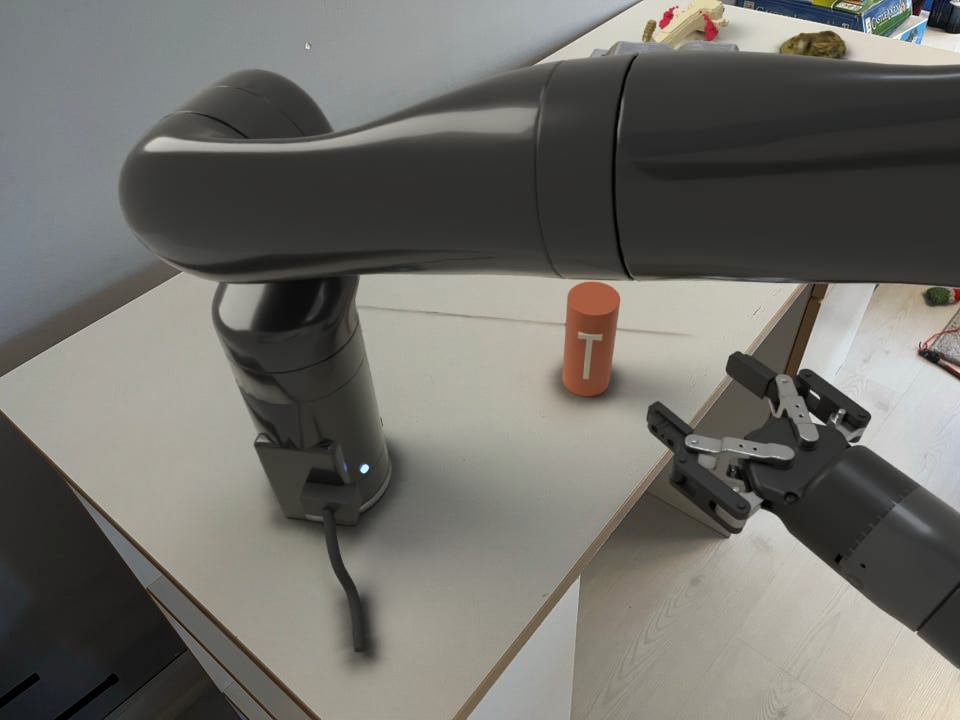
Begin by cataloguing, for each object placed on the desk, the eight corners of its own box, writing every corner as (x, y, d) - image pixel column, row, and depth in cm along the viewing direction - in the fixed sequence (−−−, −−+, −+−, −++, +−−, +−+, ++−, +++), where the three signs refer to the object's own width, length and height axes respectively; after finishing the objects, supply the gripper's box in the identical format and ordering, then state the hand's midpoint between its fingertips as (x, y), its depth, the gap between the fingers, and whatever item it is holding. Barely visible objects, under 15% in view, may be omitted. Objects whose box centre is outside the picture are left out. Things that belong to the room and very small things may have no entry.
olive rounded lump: (798, 39, 122) (764, 69, 114) (803, 10, 119) (768, 39, 111) (856, 44, 118) (825, 76, 109) (863, 14, 114) (831, 44, 106)
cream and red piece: (668, 89, 111) (740, 24, 123) (675, 33, 105) (749, -30, 117) (613, 74, 116) (687, 13, 128) (616, 19, 109) (693, -40, 121)
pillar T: (608, 400, 65) (619, 318, 58) (560, 395, 66) (565, 314, 59) (610, 365, 68) (621, 283, 61) (564, 360, 69) (569, 279, 62)
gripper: (975, 443, 45) (765, 309, 54) (832, 567, 39) (627, 393, 49) (927, 510, 50) (743, 377, 60) (796, 627, 45) (617, 460, 54)
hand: (691, 384), depth 54 cm, fingers open, 8 cm apart
